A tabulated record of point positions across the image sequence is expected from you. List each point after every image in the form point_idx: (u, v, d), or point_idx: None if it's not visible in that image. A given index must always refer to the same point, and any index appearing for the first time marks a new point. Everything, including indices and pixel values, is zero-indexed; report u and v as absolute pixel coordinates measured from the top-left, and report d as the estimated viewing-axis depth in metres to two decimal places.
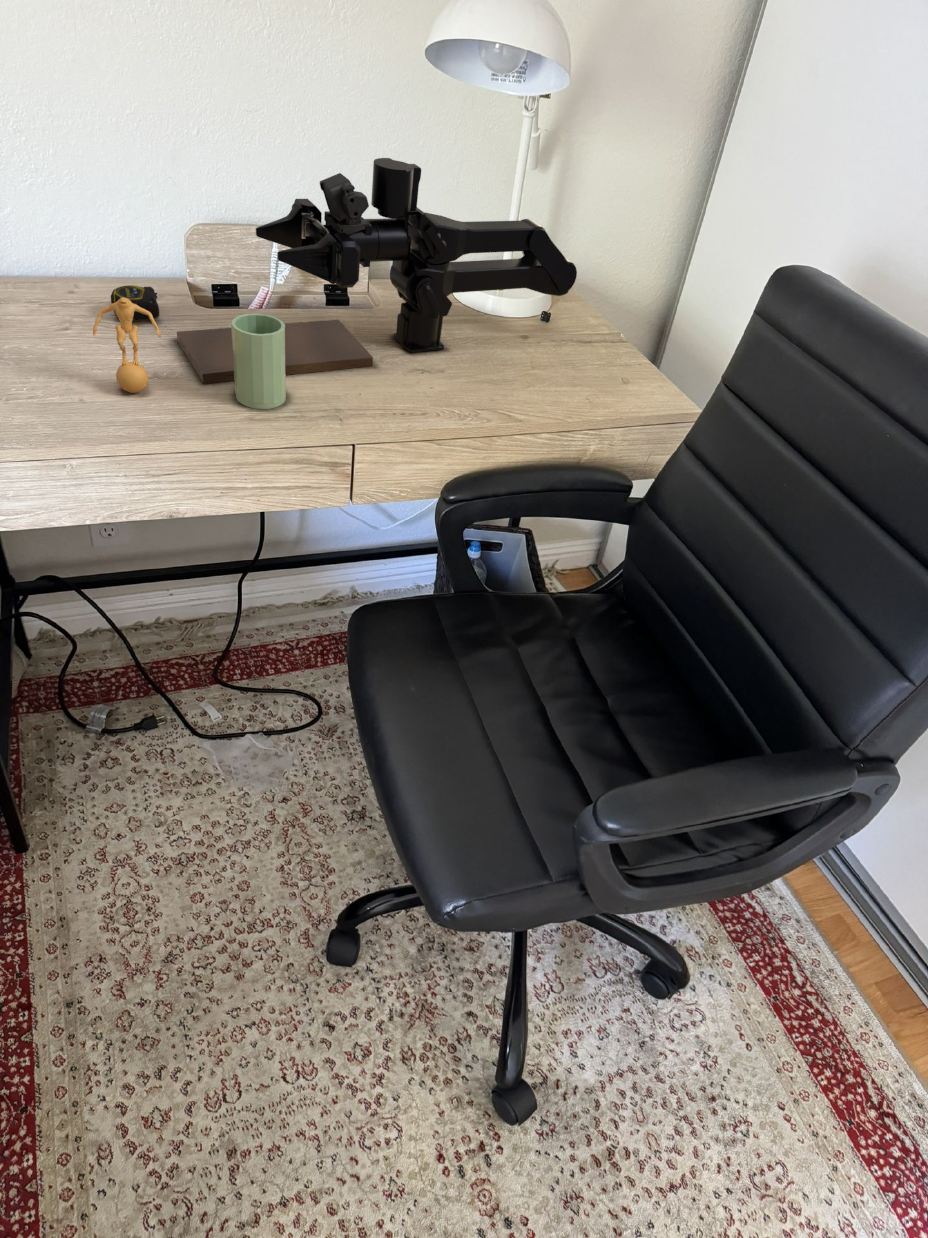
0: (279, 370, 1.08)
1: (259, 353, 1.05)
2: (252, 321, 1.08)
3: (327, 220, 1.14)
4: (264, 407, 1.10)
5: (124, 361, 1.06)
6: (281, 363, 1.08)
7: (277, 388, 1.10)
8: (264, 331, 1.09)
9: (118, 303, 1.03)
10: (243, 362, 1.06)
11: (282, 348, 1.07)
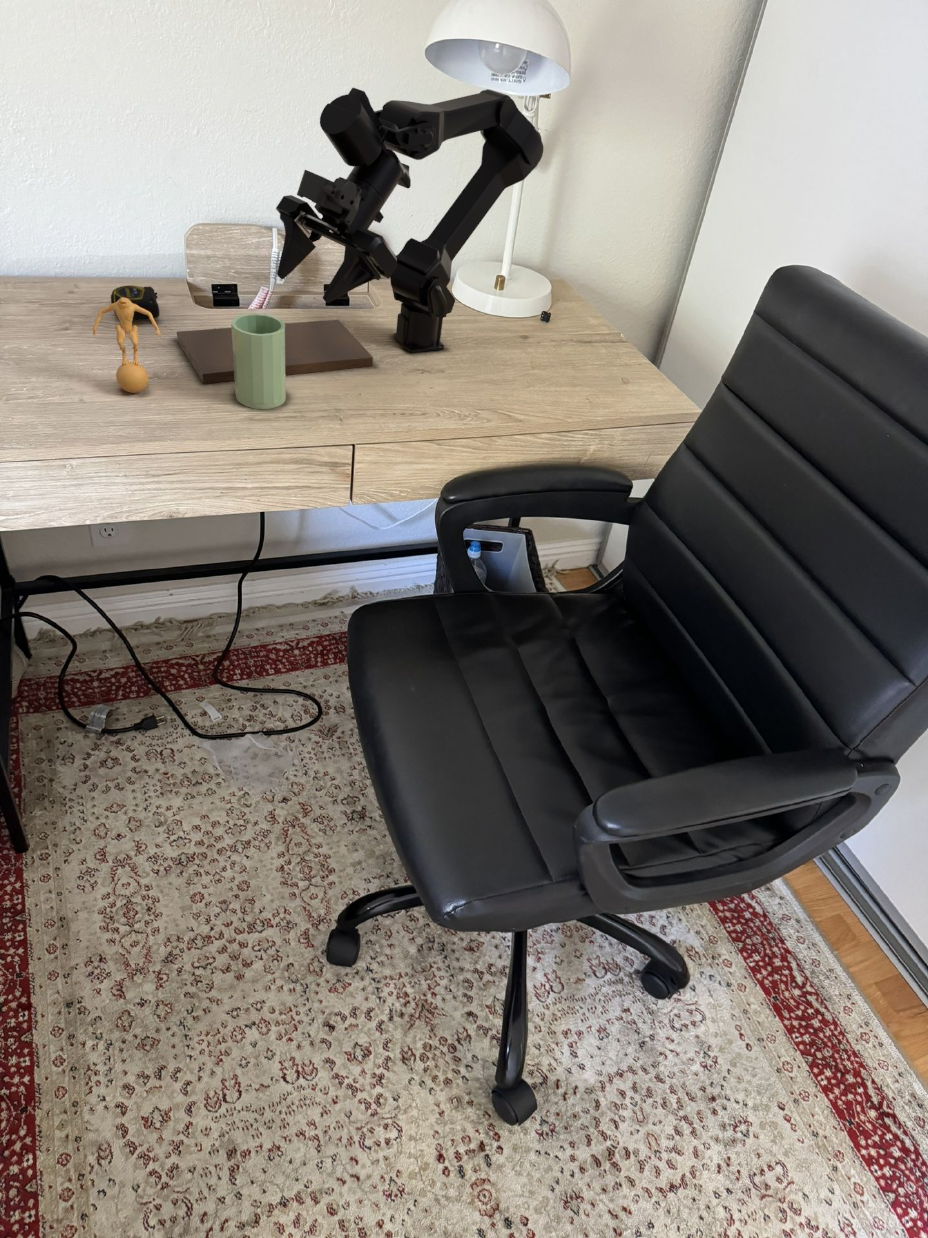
0: (279, 370, 1.08)
1: (259, 353, 1.05)
2: (252, 321, 1.08)
3: (323, 214, 1.07)
4: (264, 407, 1.10)
5: (124, 361, 1.06)
6: (281, 363, 1.08)
7: (277, 388, 1.10)
8: (264, 331, 1.09)
9: (118, 303, 1.03)
10: (243, 362, 1.06)
11: (282, 348, 1.07)
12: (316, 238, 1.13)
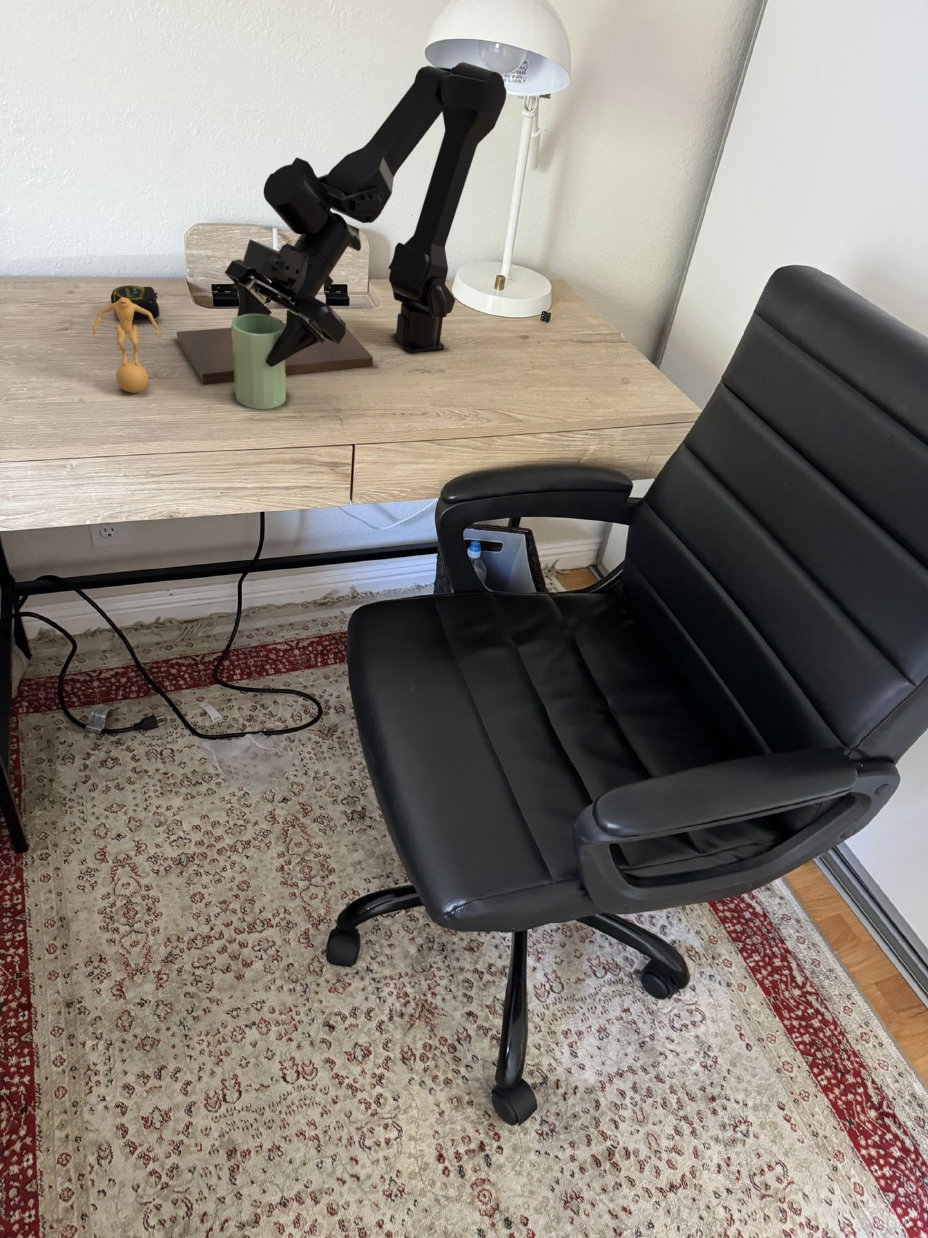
0: (279, 370, 1.08)
1: (259, 353, 1.05)
2: (252, 321, 1.08)
3: (271, 280, 1.06)
4: (264, 407, 1.10)
5: (124, 361, 1.06)
6: (281, 363, 1.08)
7: (277, 388, 1.10)
8: (264, 331, 1.09)
9: (118, 303, 1.03)
10: (243, 362, 1.06)
11: None
12: (267, 301, 1.12)
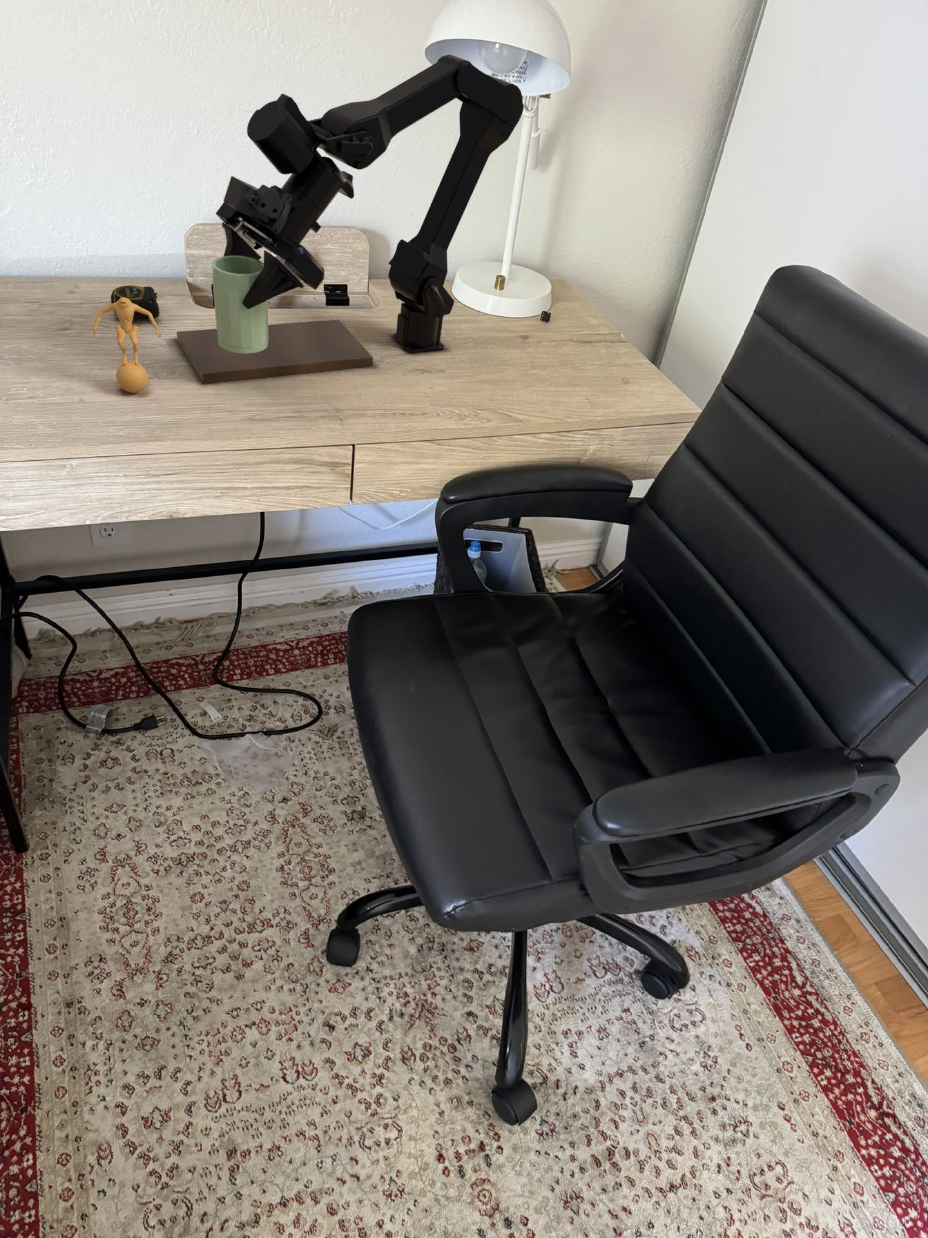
0: (258, 314, 1.07)
1: (236, 294, 1.04)
2: (237, 263, 1.07)
3: (256, 221, 1.04)
4: (242, 351, 1.09)
5: (124, 361, 1.06)
6: (260, 306, 1.06)
7: (256, 333, 1.08)
8: None
9: (118, 303, 1.03)
10: (221, 302, 1.05)
11: None
12: (258, 246, 1.11)
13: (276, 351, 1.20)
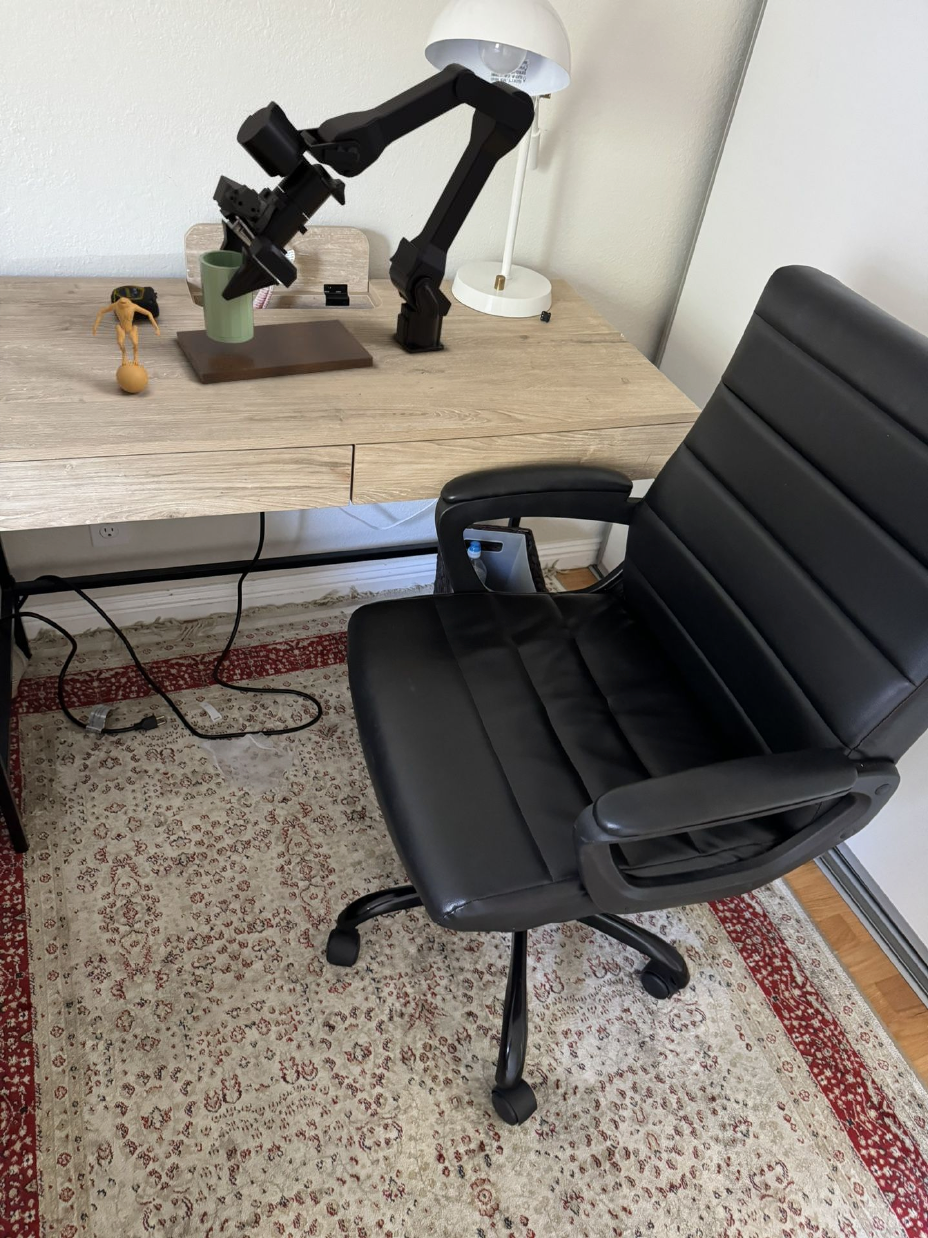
0: (238, 306, 1.12)
1: (216, 285, 1.09)
2: (228, 257, 1.13)
3: None
4: (223, 340, 1.15)
5: (124, 361, 1.06)
6: (241, 300, 1.12)
7: (236, 324, 1.14)
8: None
9: (118, 303, 1.03)
10: (204, 292, 1.11)
11: None
12: None
13: (276, 351, 1.20)
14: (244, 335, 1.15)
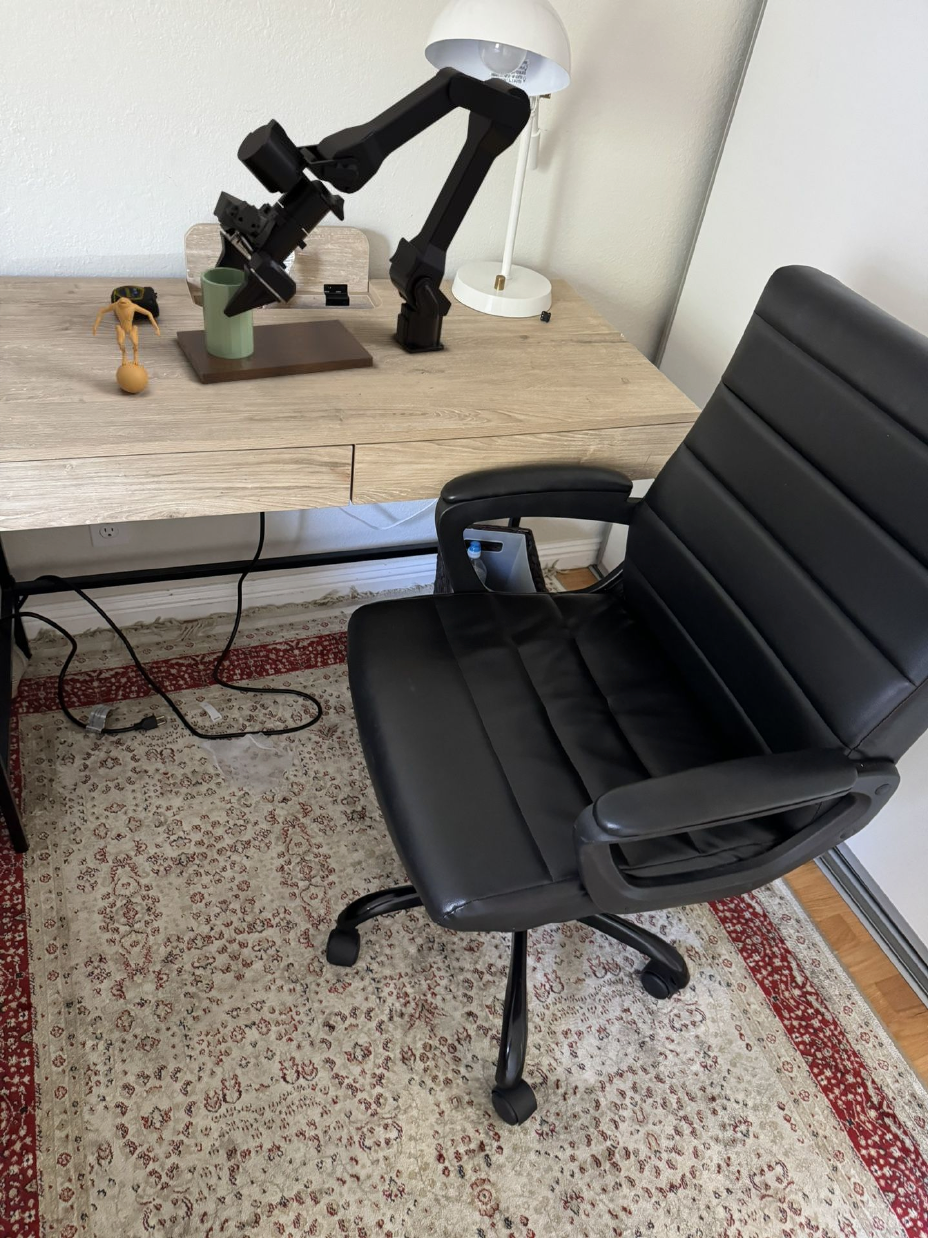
0: (238, 323, 1.14)
1: (216, 302, 1.11)
2: (229, 274, 1.15)
3: None
4: (223, 356, 1.16)
5: (124, 361, 1.06)
6: (241, 316, 1.13)
7: (236, 340, 1.15)
8: None
9: (118, 303, 1.03)
10: (205, 309, 1.13)
11: None
12: None
13: (276, 351, 1.20)
14: (244, 351, 1.17)
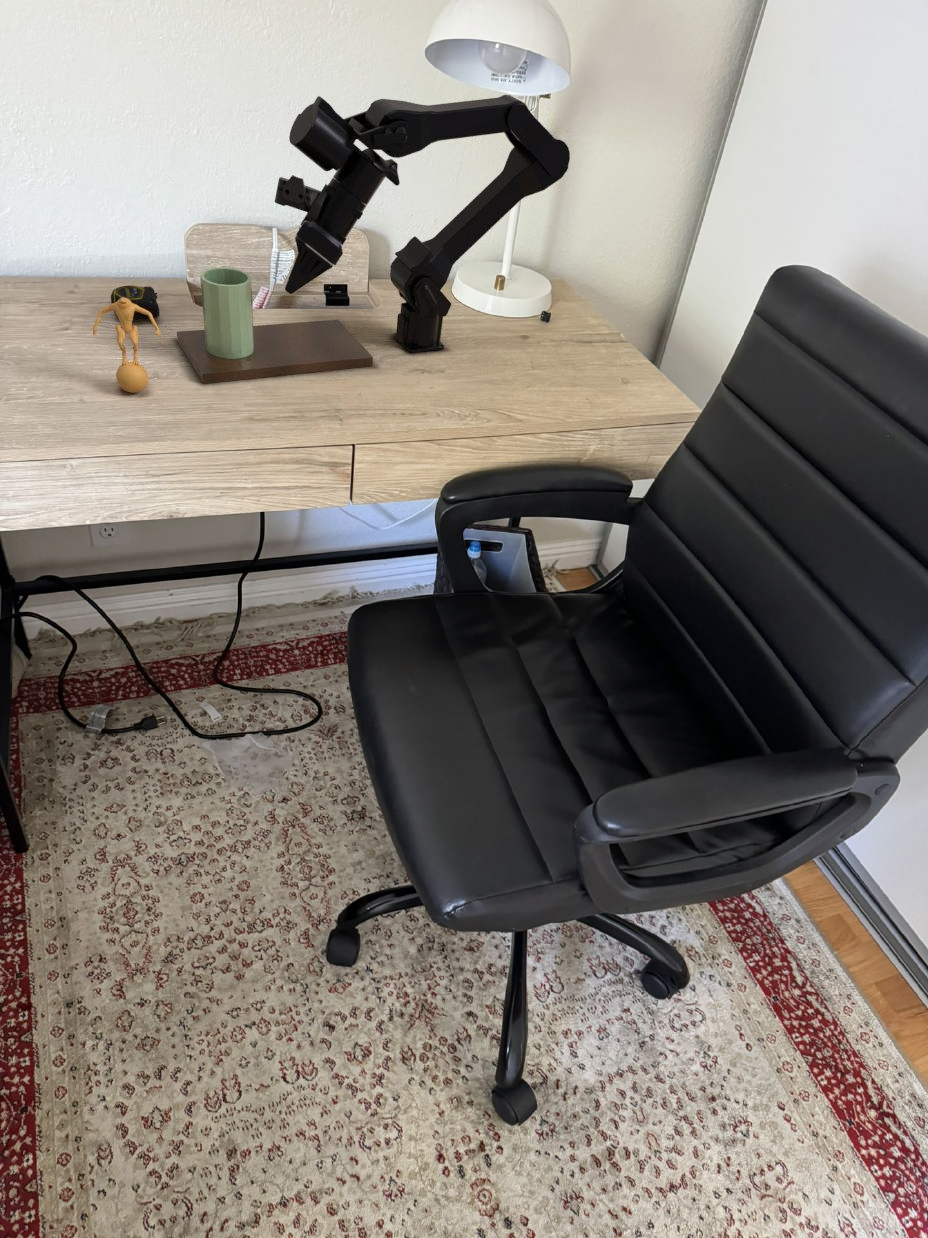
0: (238, 323, 1.14)
1: (216, 302, 1.11)
2: (229, 274, 1.15)
3: None
4: (223, 356, 1.16)
5: (124, 361, 1.06)
6: (241, 316, 1.13)
7: (236, 340, 1.15)
8: None
9: (118, 303, 1.03)
10: (205, 309, 1.13)
11: (241, 302, 1.12)
12: None
13: (276, 351, 1.20)
14: (244, 351, 1.17)
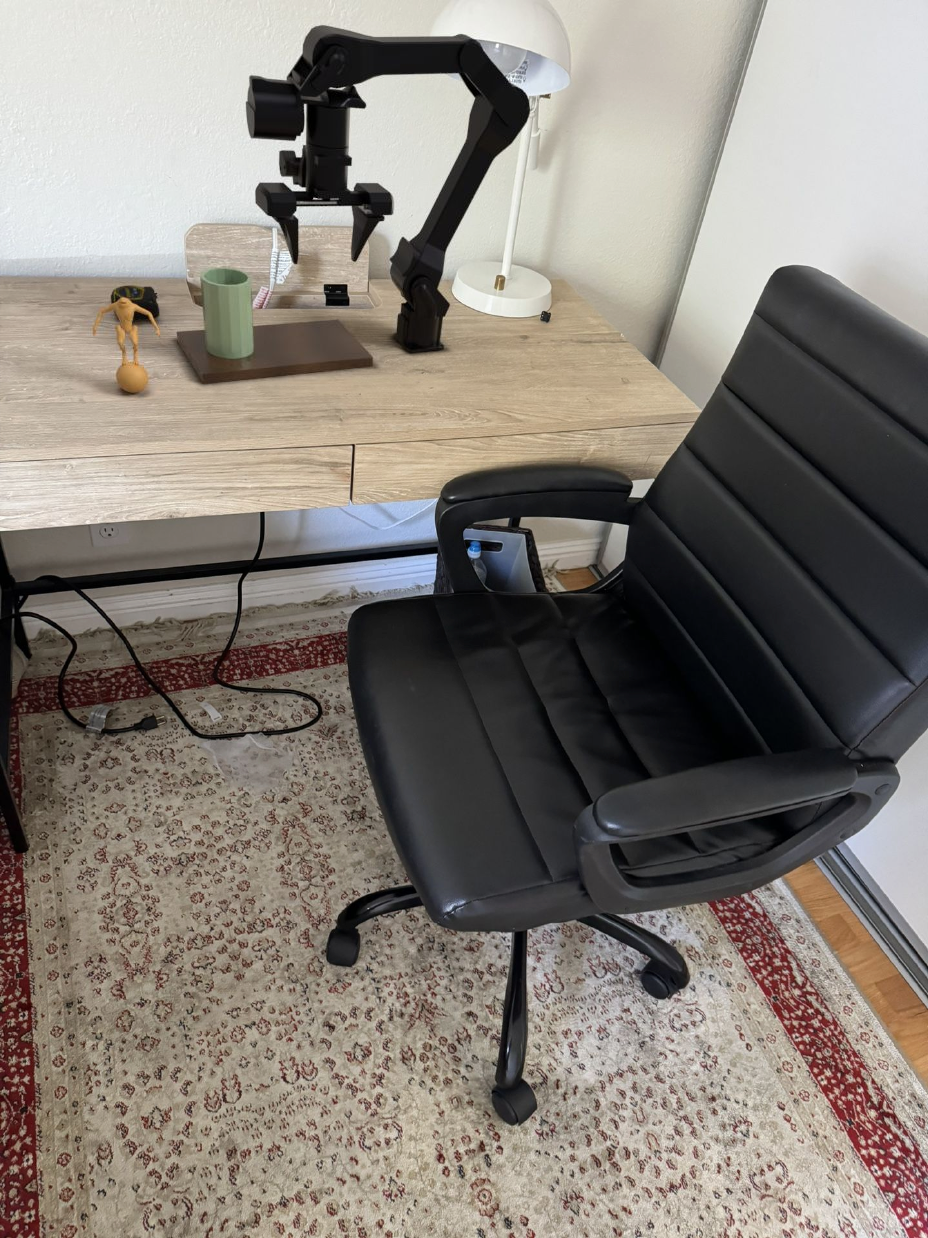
0: (238, 323, 1.14)
1: (216, 302, 1.11)
2: (229, 274, 1.15)
3: None
4: (223, 356, 1.16)
5: (124, 361, 1.06)
6: (241, 316, 1.13)
7: (236, 340, 1.15)
8: None
9: (118, 303, 1.03)
10: (205, 309, 1.13)
11: (241, 302, 1.12)
12: (370, 210, 1.14)
13: (276, 351, 1.20)
14: (244, 351, 1.17)
